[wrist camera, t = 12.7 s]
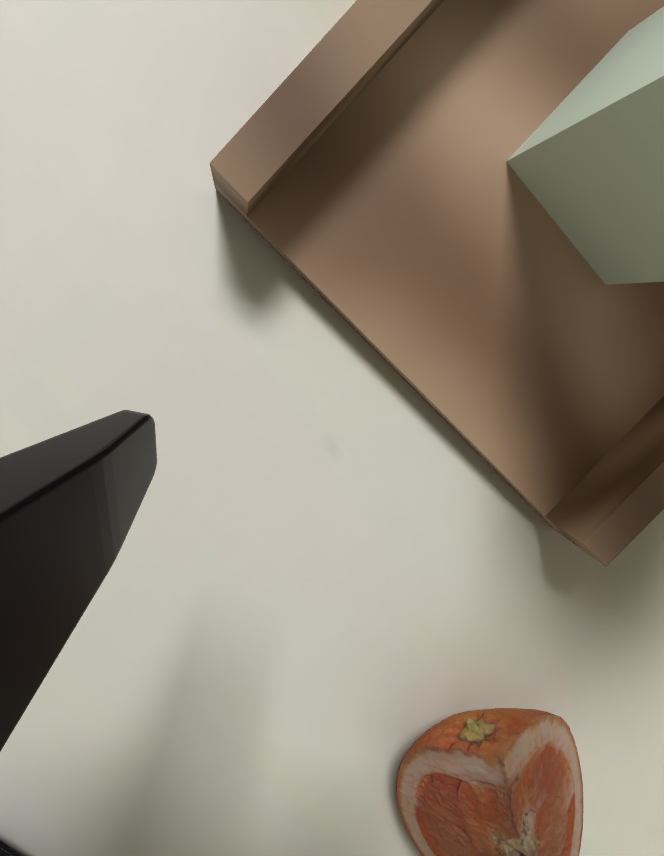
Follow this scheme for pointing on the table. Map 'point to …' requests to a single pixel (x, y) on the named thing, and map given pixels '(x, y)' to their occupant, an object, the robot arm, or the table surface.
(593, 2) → the wooden serving tray
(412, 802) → the fruit slice
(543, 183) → the sage box
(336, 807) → the table surface
